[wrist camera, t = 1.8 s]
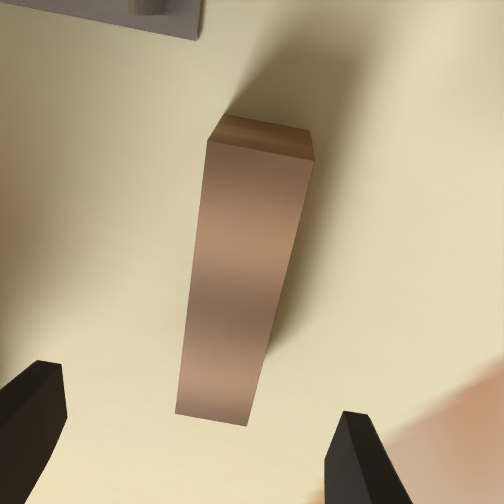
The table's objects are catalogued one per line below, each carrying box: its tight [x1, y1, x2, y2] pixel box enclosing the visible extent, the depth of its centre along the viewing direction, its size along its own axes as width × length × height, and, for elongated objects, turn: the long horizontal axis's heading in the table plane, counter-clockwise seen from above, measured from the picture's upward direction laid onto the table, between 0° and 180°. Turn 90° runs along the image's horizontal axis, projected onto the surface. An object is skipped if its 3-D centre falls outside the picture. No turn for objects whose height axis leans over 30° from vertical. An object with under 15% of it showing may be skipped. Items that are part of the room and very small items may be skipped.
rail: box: [175, 114, 315, 426], centre depth 18 cm, size 13×3×4 cm, turn 170°
